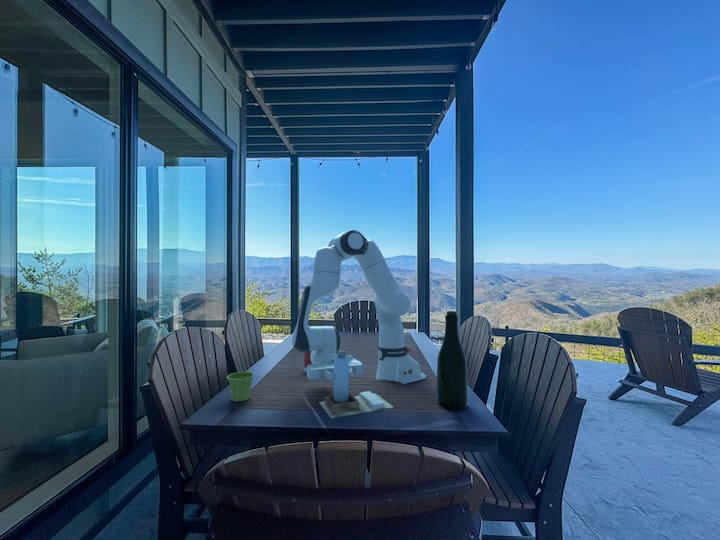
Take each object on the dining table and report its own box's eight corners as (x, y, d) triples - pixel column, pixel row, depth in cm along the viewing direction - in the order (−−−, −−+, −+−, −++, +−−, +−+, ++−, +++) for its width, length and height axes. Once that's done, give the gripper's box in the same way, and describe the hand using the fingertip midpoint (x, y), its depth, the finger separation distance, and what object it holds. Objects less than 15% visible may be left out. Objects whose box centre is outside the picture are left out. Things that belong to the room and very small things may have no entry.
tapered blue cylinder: (345, 395, 111) (345, 349, 111) (350, 400, 106) (351, 352, 107) (331, 397, 109) (332, 350, 109) (336, 402, 104) (336, 353, 105)
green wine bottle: (446, 397, 119) (445, 308, 120) (473, 405, 112) (472, 311, 112) (430, 405, 112) (430, 310, 113) (458, 414, 104) (457, 313, 105)
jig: (375, 396, 120) (375, 386, 120) (393, 410, 107) (393, 399, 107) (318, 405, 112) (318, 394, 112) (331, 422, 99) (331, 410, 99)
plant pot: (237, 406, 111) (238, 380, 111) (221, 400, 116) (221, 376, 116) (259, 397, 119) (259, 374, 119) (242, 392, 124) (243, 370, 124)
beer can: (315, 372, 150) (315, 347, 151) (302, 371, 152) (302, 346, 152) (319, 368, 157) (319, 344, 157) (307, 367, 158) (307, 343, 159)
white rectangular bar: (369, 395, 118) (369, 391, 118) (384, 407, 107) (384, 402, 107) (359, 396, 117) (359, 392, 117) (373, 409, 105) (373, 404, 106)
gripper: (302, 359, 116) (311, 369, 103) (354, 354, 124) (369, 363, 111) (302, 377, 116) (311, 389, 103) (354, 371, 123) (369, 381, 111)
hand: (342, 375), depth 107 cm, fingers closed on tapered blue cylinder, 5 cm apart
